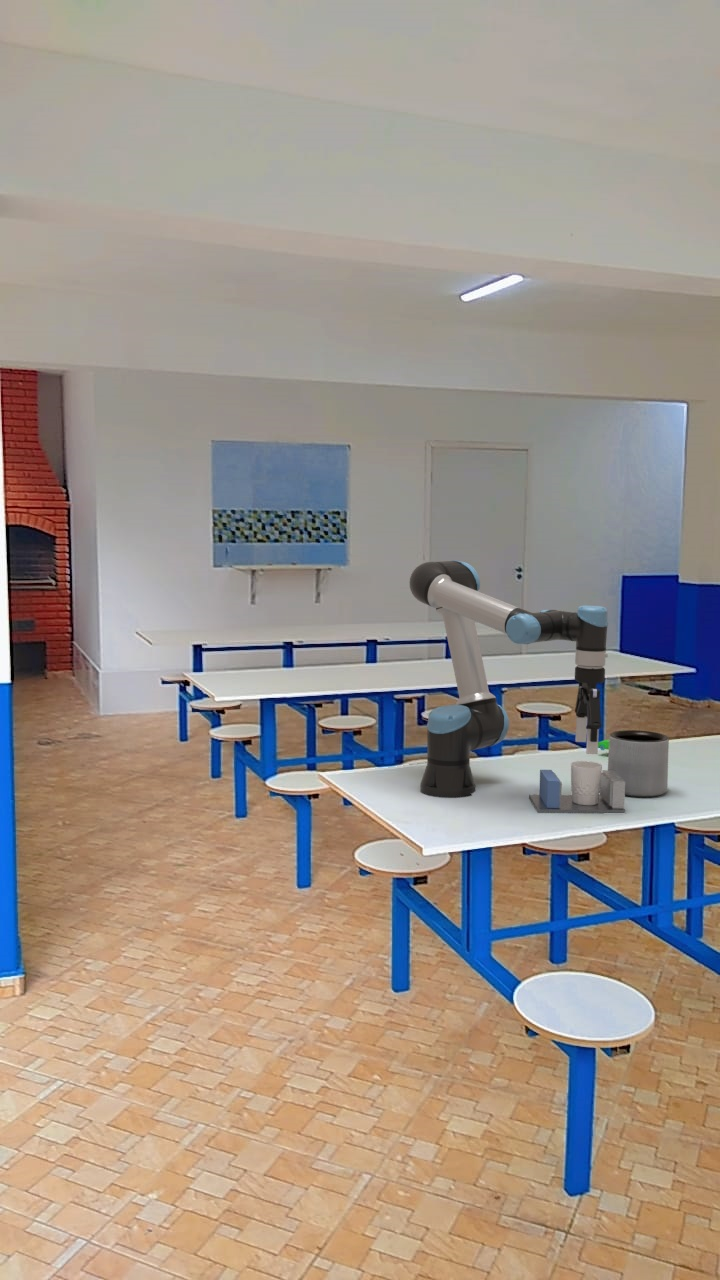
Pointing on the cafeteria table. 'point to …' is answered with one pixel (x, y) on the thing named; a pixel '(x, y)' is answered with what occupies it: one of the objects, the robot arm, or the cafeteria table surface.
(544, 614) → the robot arm
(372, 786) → the cafeteria table surface
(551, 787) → the sliding jaw
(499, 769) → the cafeteria table surface
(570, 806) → the vise bed
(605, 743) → the toy car
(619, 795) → the fixed jaw
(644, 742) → the planter
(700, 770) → the cafeteria table surface
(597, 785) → the white cup
